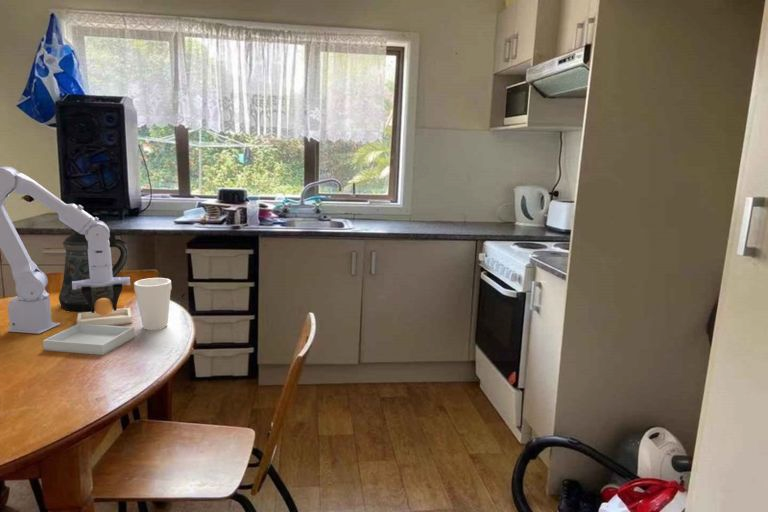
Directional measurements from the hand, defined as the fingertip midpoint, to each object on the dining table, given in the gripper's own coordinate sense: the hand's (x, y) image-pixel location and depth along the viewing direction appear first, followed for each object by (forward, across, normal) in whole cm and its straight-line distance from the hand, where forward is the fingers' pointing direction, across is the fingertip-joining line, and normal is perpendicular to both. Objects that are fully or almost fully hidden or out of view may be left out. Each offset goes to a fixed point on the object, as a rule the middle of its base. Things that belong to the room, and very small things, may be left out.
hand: (104, 310), depth 153 cm
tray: (+3, -3, -17) cm, 18 cm away
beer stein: (+3, -3, +20) cm, 21 cm away
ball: (-1, 0, 0) cm, 1 cm away
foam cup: (+3, +13, -10) cm, 16 cm away
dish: (+3, 0, 0) cm, 3 cm away
